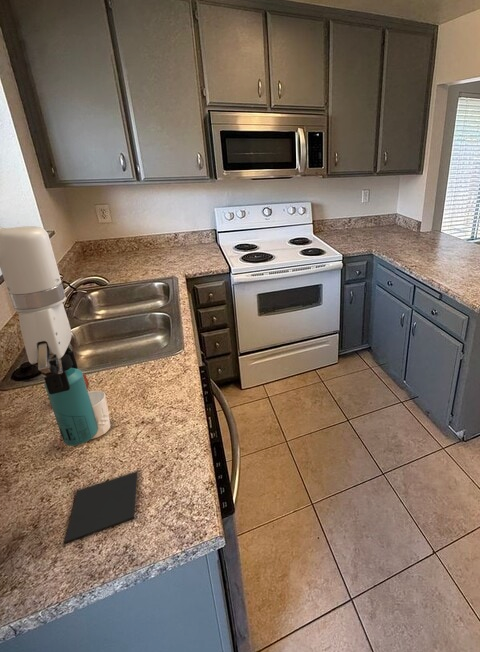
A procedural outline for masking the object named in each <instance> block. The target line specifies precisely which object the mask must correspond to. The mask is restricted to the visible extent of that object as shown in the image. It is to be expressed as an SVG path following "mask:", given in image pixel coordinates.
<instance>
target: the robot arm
mask: <svg viewBox="0 0 480 652" xmlns="http://www.w3.org/2000/svg"><path fill="white" fill-rule="evenodd" d="M0 271H1V274H2V277H3V281H4V284H5V286H6V289H7V292H8V295H9V298H10V300H11V304H12V307H13V310H14V311H15V312H17V313H18V323H19V327H20V332H21V336H22V337H21V338H22V341H23V346H24V349H25V352H26V356H27V359H28V362H29V363H30V364H31V365H36V364H37V370H38V371H39V372H40V373H41V374H42V378H43V379H44V383H45V382H46V385H47V389H48V392H49V394H55V393H59V392H64V391H68V390H69V389H70V385H69V381H68V378H67V375H66V371H63V369H62V362H61V357H62V356H63V355H64V354H67V355H69V356H70V358H71V360H72V362H73V366H72V367H71V368H75V369H78V368H79V367H78V363H77V359H76V356H75V353H74V351H73V346H72V343H71V340H72V336H73V335H72V328H71V325H70V321H69V317H68V315H67V312H66V308H65V306H64V302H66V300H67V296H66V293H65V289H64V286H63V282H62V279H61V276H60V271H59V267H58V264H57V261H56V257H55V253H54V249H53V246H52V243H51V238H50V236H49V233H48V231H47V230H46V229H44V228H43V227H41V226H36V225H34V226H33V225H27V226H25V225H24V226H15V227H8V228H7V227H0ZM50 356H53V357H54V356H56V357H54V358H52V357H50ZM51 361H56V366H57V367H55V366H54V365H52V366H51V364H50V363H49V362H51Z"/></svg>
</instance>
